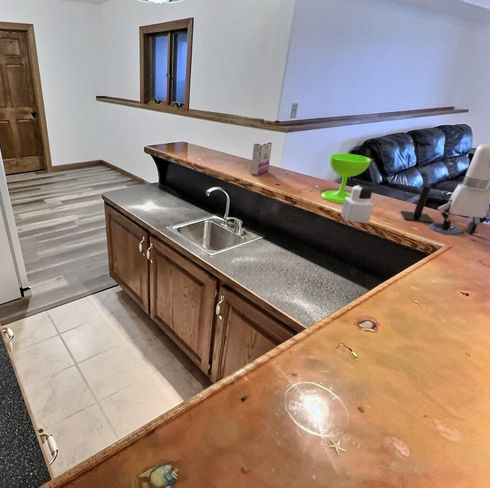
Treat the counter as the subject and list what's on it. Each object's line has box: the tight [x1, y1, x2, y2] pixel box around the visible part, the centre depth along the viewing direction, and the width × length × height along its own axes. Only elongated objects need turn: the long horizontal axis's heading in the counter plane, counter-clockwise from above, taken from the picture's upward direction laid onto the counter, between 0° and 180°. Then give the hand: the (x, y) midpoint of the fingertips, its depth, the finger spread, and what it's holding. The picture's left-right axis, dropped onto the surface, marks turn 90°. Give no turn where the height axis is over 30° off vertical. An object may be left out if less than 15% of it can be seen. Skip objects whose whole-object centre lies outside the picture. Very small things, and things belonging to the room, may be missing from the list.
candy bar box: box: [250, 140, 273, 176], centre depth 188 cm, size 11×5×16 cm, turn 136°
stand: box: [400, 184, 434, 225], centre depth 131 cm, size 9×9×14 cm
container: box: [340, 184, 375, 224], centre depth 130 cm, size 8×8×13 cm
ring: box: [428, 222, 462, 236], centre depth 124 cm, size 9×9×2 cm
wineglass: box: [320, 153, 372, 205], centre depth 152 cm, size 16×16×18 cm
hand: (456, 231), depth 123 cm, fingers open, 6 cm apart
